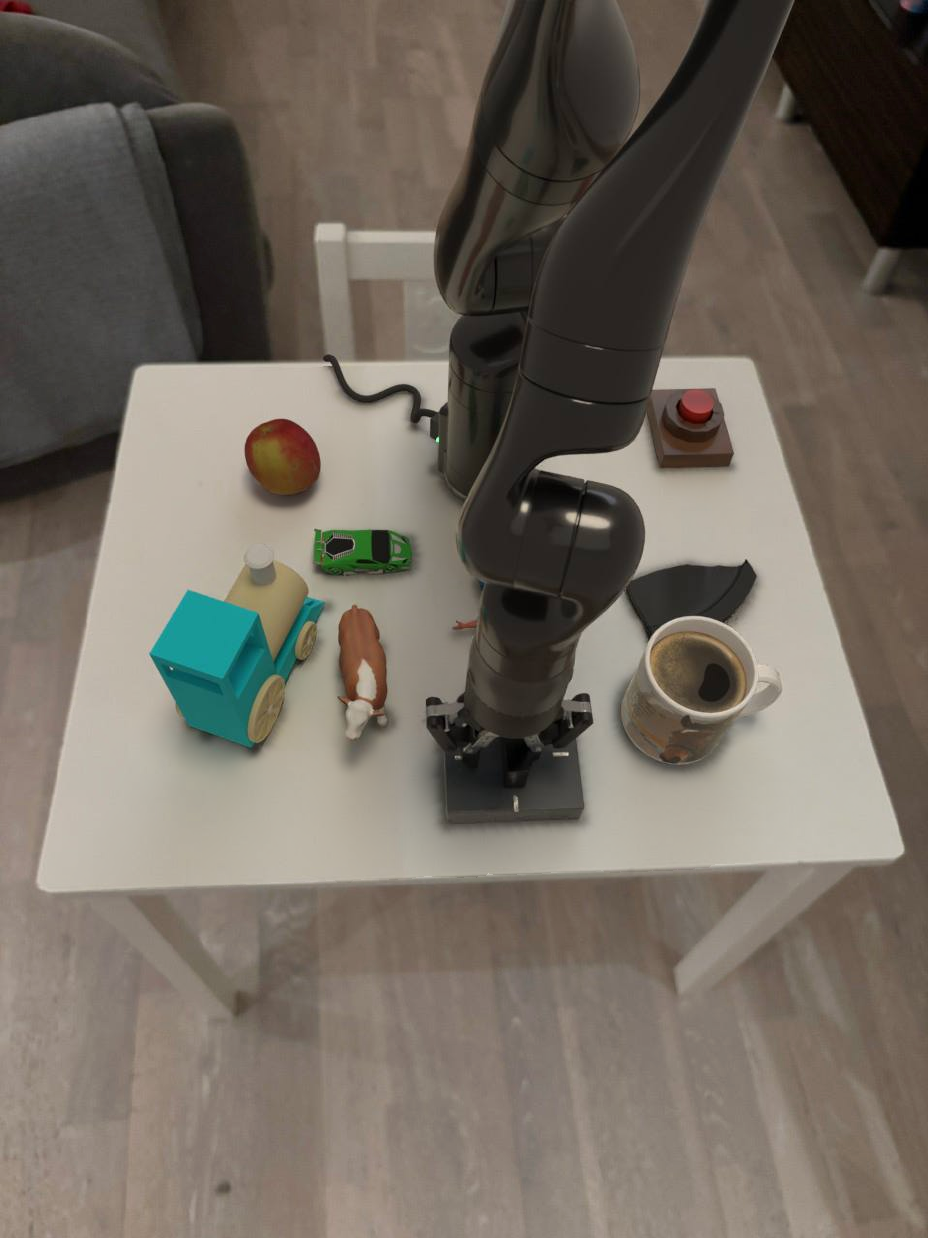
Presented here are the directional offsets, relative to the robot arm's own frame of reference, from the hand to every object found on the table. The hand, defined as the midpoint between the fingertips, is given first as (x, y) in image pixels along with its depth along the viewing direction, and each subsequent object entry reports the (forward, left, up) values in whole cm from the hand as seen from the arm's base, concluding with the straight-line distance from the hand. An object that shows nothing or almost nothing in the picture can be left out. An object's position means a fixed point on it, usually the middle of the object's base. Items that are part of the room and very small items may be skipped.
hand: (498, 756), depth 81 cm
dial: (+1, +1, 0) cm, 1 cm away
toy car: (-25, +10, -3) cm, 27 cm away
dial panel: (+1, +1, -3) cm, 3 cm away
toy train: (-24, -6, -3) cm, 25 cm away
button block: (-8, +47, -3) cm, 48 cm away
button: (-8, +47, 0) cm, 48 cm away
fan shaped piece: (+5, +27, -3) cm, 28 cm away
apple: (-38, +12, -3) cm, 40 cm away
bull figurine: (-14, -2, -3) cm, 15 cm away
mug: (+11, +15, -3) cm, 19 cm away
